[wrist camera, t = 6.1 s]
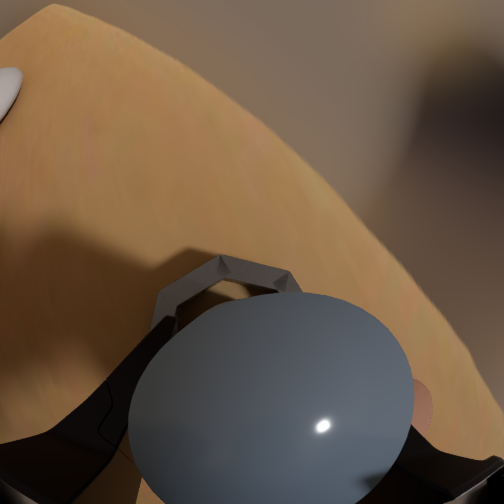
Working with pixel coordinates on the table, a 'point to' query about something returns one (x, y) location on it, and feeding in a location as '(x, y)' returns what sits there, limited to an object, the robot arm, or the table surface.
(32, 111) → the table surface
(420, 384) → the terracotta coaster
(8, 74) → the flower in vase
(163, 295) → the dark grey octagonal ring
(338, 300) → the blue-grey cylinder
